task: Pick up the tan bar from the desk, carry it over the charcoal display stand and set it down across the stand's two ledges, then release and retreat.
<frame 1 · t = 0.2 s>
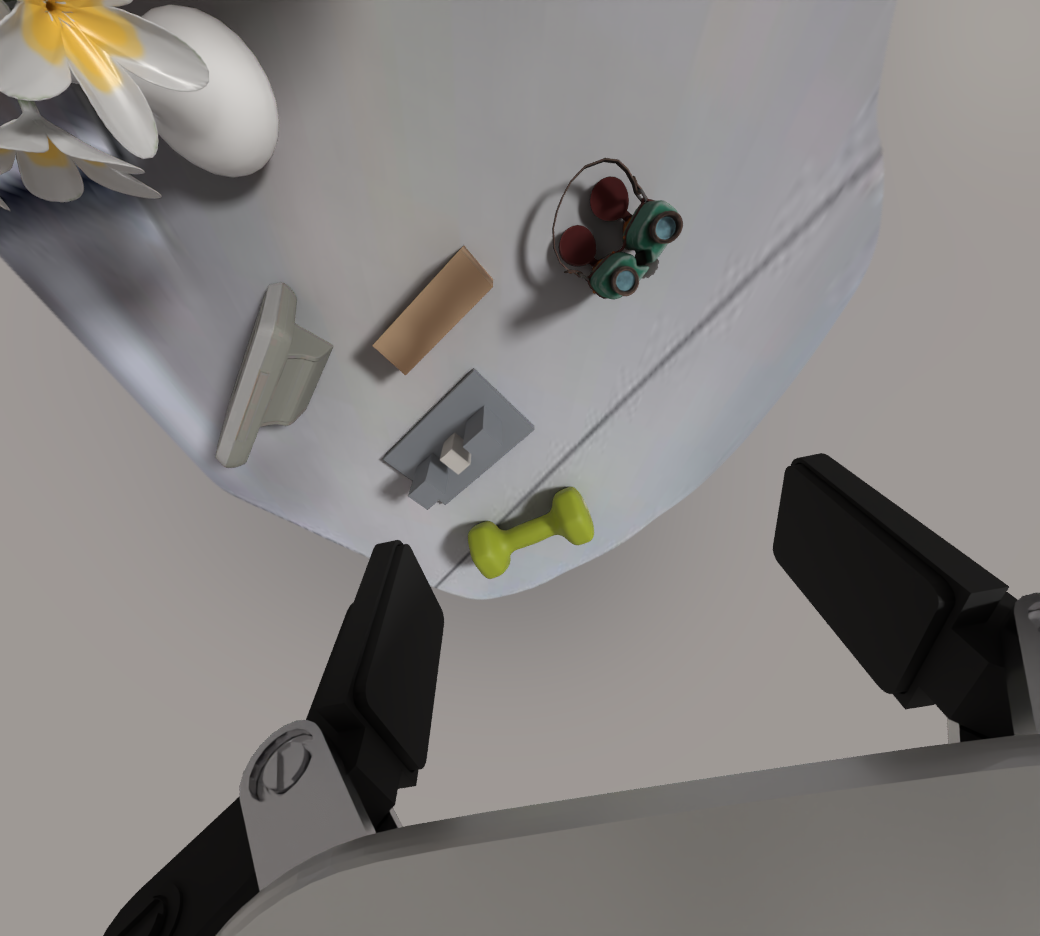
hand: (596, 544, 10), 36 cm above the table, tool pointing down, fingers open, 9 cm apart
binoculars: (596, 232, 39), on the table
tan bar: (437, 306, 41), on the table
digital clock: (282, 357, 43), on the table
flower vase: (230, 118, 33), on the table
dumbbell: (528, 514, 57), on the table
display stand: (458, 440, 50), on the table
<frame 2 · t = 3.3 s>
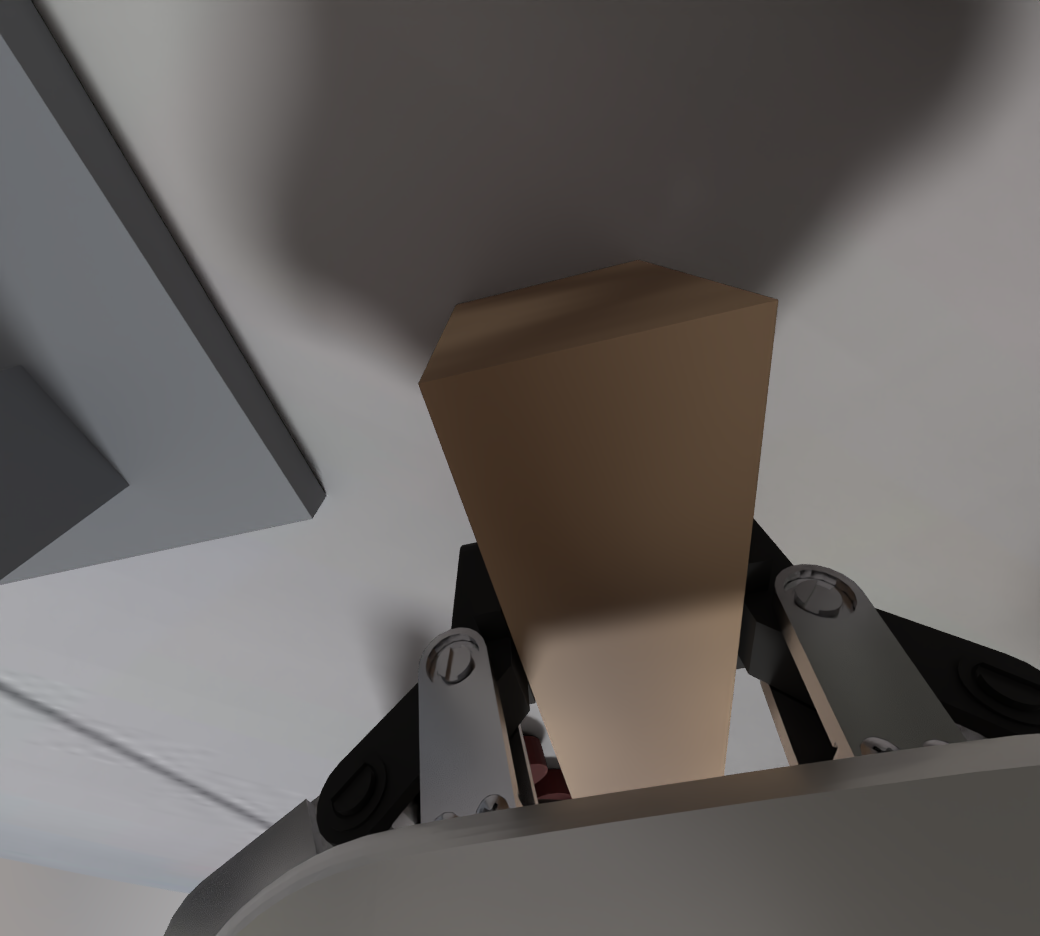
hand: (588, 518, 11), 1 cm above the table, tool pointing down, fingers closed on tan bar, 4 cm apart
binoculars: (509, 761, 21), on the table
tan bar: (582, 500, 12), on the table, touching gripper
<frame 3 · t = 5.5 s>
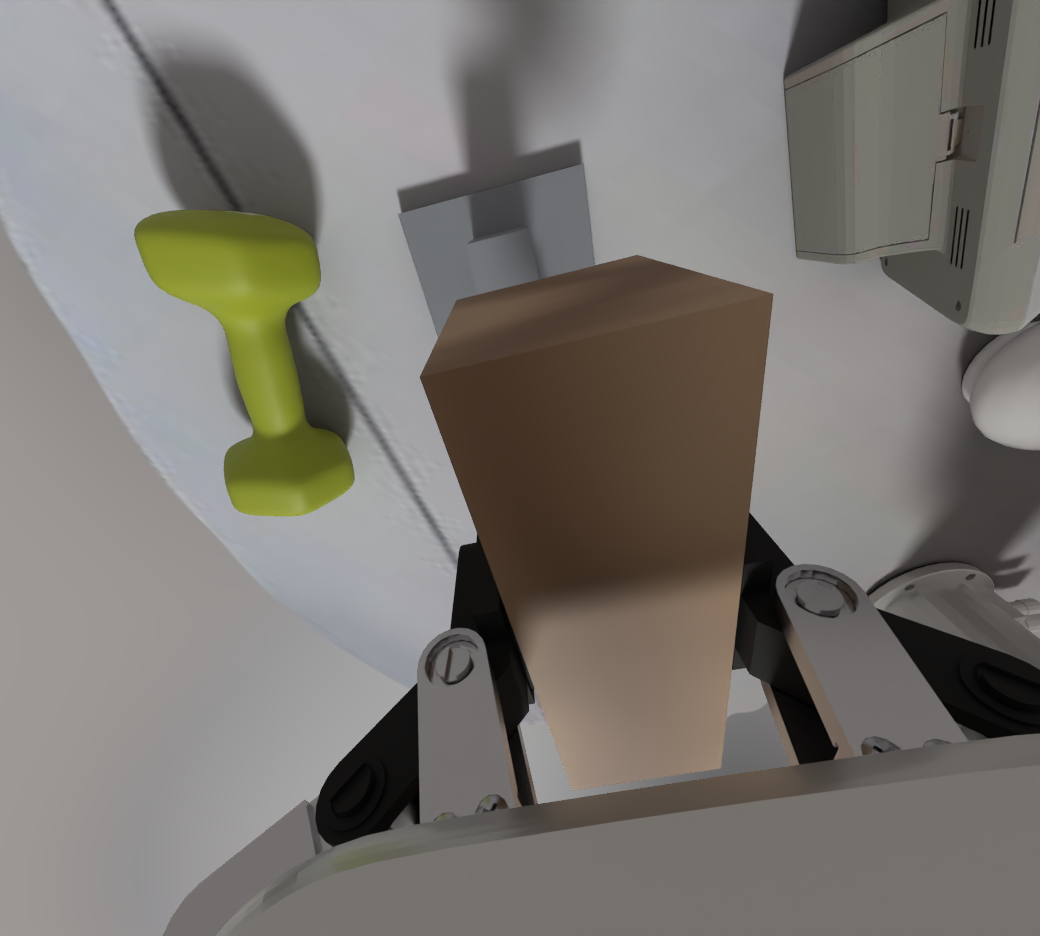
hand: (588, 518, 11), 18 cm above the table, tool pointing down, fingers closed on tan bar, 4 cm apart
tan bar: (582, 495, 12), point 17 cm above the table, touching gripper
digital clock: (865, 139, 22), on the table
flower vase: (1008, 354, 28), on the table
dumbbell: (296, 358, 27), on the table
display stand: (521, 336, 26), on the table
when the fingers open (9 cm above the table, at t = 7.5 s): tan bar stays where it is, resting on display stand.
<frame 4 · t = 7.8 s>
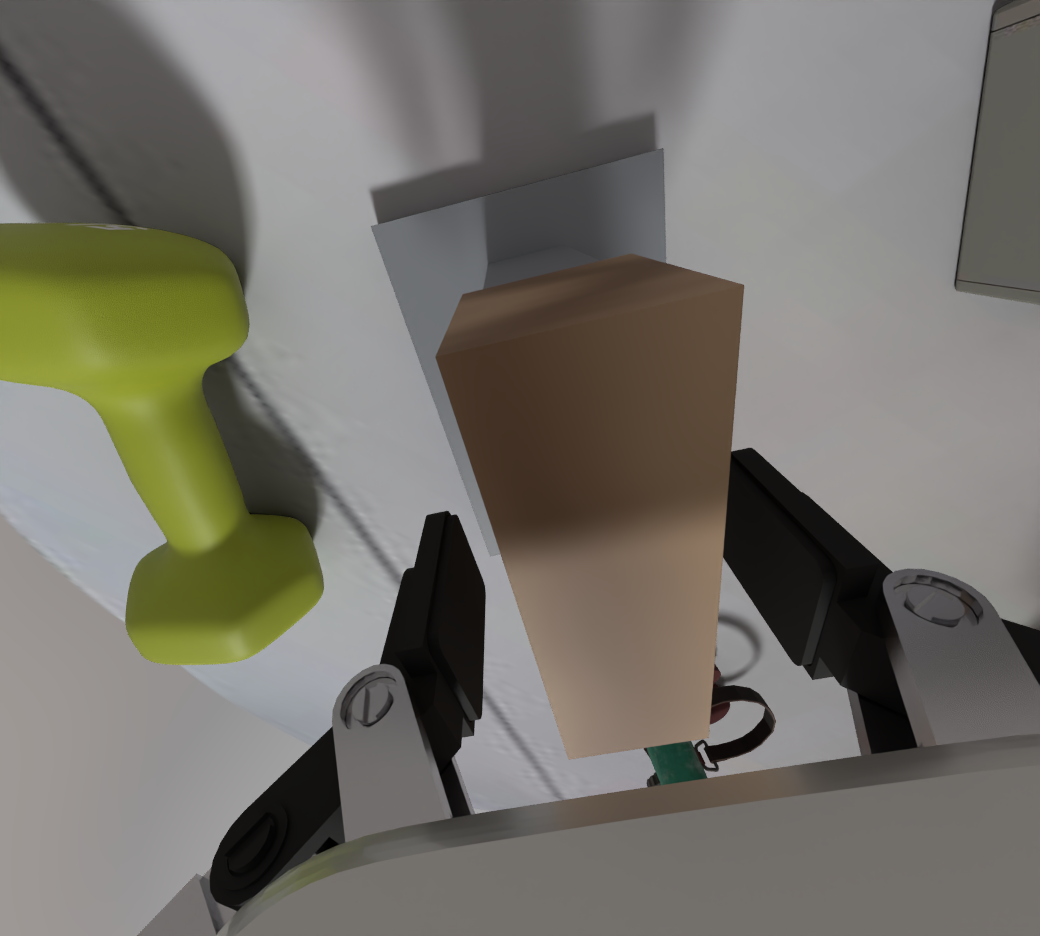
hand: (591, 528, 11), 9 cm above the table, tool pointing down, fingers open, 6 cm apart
binoculars: (682, 678, 32), on the table
tan bar: (579, 481, 13), point 7 cm above the table, touching display stand
dumbbell: (237, 426, 19), on the table
display stand: (551, 396, 18), on the table
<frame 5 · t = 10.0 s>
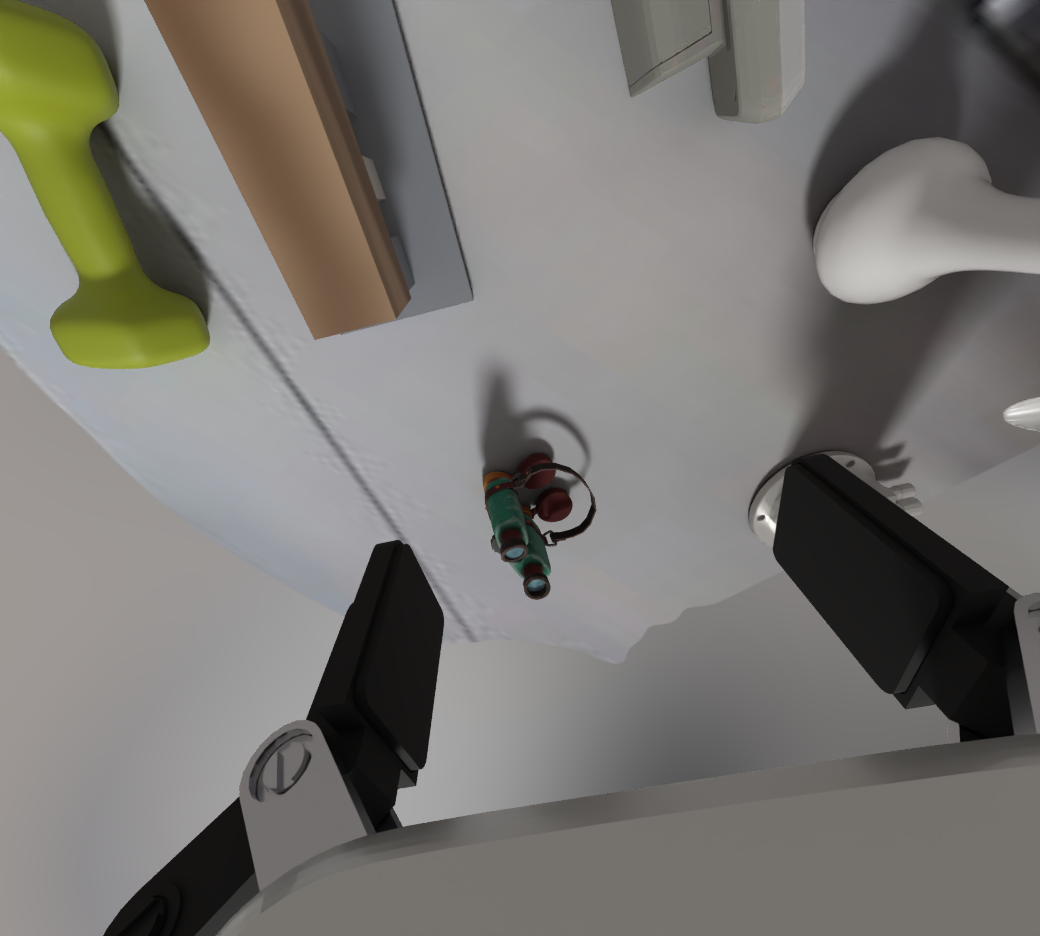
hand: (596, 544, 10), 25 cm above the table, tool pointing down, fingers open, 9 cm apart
binoculars: (534, 483, 40), on the table
tan bar: (328, 181, 20), point 7 cm above the table, touching display stand
flower vase: (854, 213, 29), on the table
dumbbell: (132, 213, 26), on the table
display stand: (361, 186, 26), on the table
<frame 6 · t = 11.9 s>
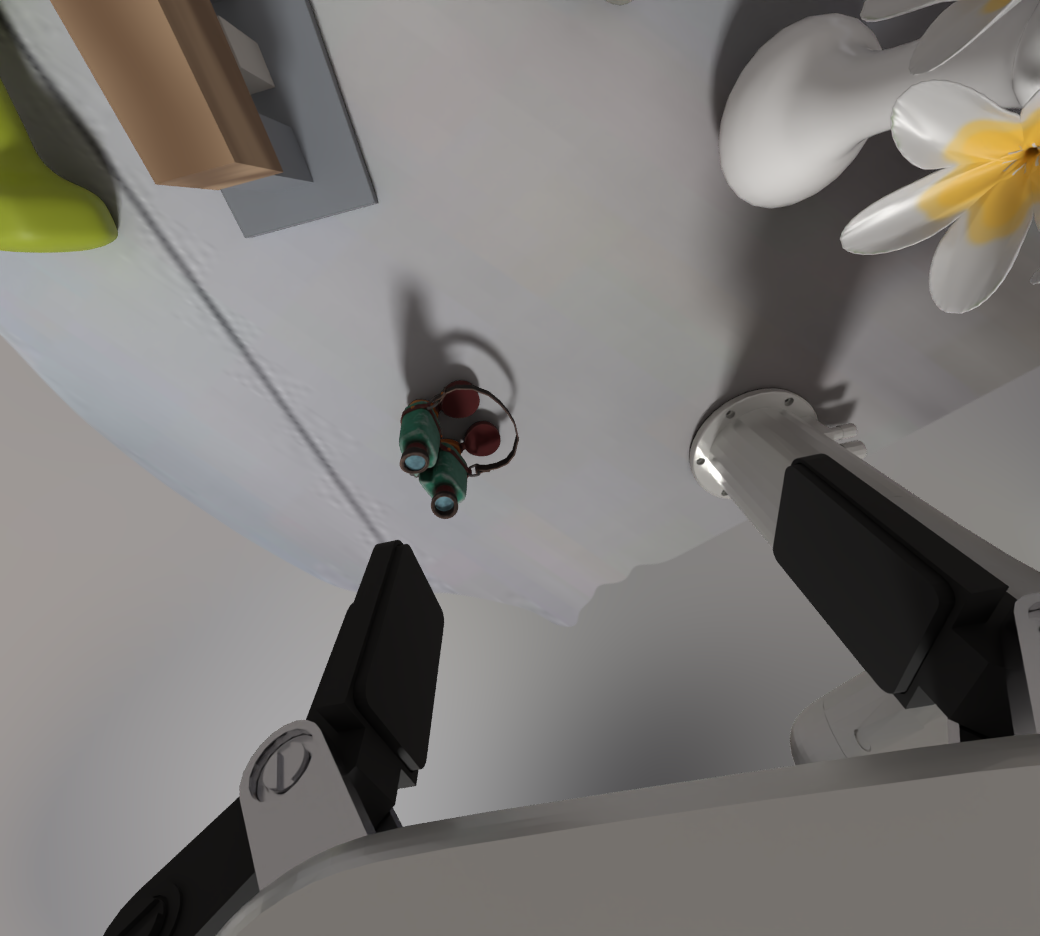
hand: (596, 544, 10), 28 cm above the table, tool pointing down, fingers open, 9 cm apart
binoculars: (463, 416, 39), on the table
tan bar: (182, 34, 20), point 7 cm above the table, touching display stand
flower vase: (764, 116, 28), on the table
dumbbell: (33, 103, 26), on the table
display stand: (253, 76, 26), on the table
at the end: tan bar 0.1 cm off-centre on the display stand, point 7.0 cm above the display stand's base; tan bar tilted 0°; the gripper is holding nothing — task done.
